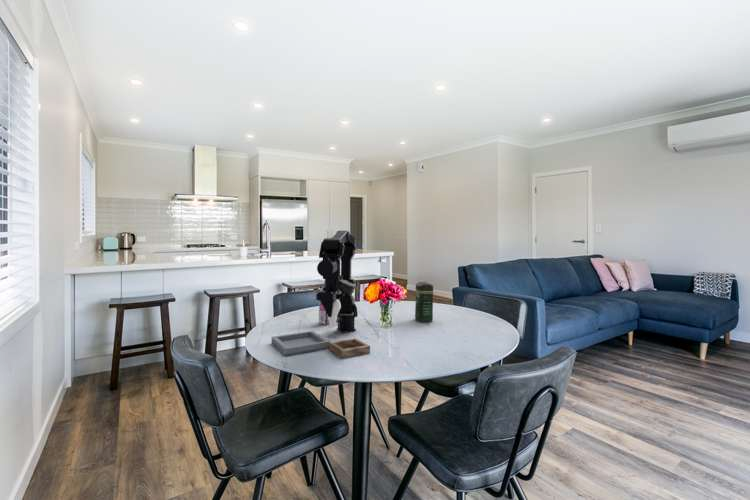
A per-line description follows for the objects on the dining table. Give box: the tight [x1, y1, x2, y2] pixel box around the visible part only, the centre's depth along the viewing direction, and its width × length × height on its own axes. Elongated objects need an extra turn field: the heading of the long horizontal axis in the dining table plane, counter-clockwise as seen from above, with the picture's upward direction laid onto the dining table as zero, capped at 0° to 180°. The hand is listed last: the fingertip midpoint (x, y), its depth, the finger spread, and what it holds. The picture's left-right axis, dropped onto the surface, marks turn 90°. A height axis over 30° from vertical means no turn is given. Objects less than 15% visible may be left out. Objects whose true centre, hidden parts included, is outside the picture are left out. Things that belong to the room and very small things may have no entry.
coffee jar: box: [414, 281, 434, 323], centre depth 184 cm, size 10×8×19 cm
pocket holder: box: [328, 337, 371, 359], centre depth 138 cm, size 11×11×2 cm
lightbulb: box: [328, 299, 341, 328], centre depth 139 cm, size 6×6×11 cm
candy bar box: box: [318, 287, 341, 326], centre depth 179 cm, size 11×5×16 cm, turn 144°
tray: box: [271, 330, 331, 357], centre depth 144 cm, size 17×17×2 cm
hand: (332, 315), depth 140 cm, fingers closed on lightbulb, 5 cm apart
